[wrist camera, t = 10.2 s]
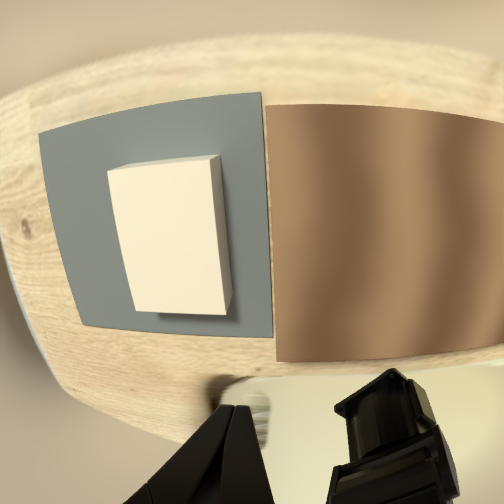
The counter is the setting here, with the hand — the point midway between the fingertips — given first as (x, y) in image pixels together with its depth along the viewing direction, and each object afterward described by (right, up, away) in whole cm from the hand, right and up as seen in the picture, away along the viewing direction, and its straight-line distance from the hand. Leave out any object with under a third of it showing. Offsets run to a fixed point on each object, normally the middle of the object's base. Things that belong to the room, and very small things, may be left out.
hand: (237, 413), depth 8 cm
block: (+12, +6, +10) cm, 17 cm away
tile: (-4, +5, +10) cm, 13 cm away
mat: (-7, +6, +12) cm, 15 cm away
